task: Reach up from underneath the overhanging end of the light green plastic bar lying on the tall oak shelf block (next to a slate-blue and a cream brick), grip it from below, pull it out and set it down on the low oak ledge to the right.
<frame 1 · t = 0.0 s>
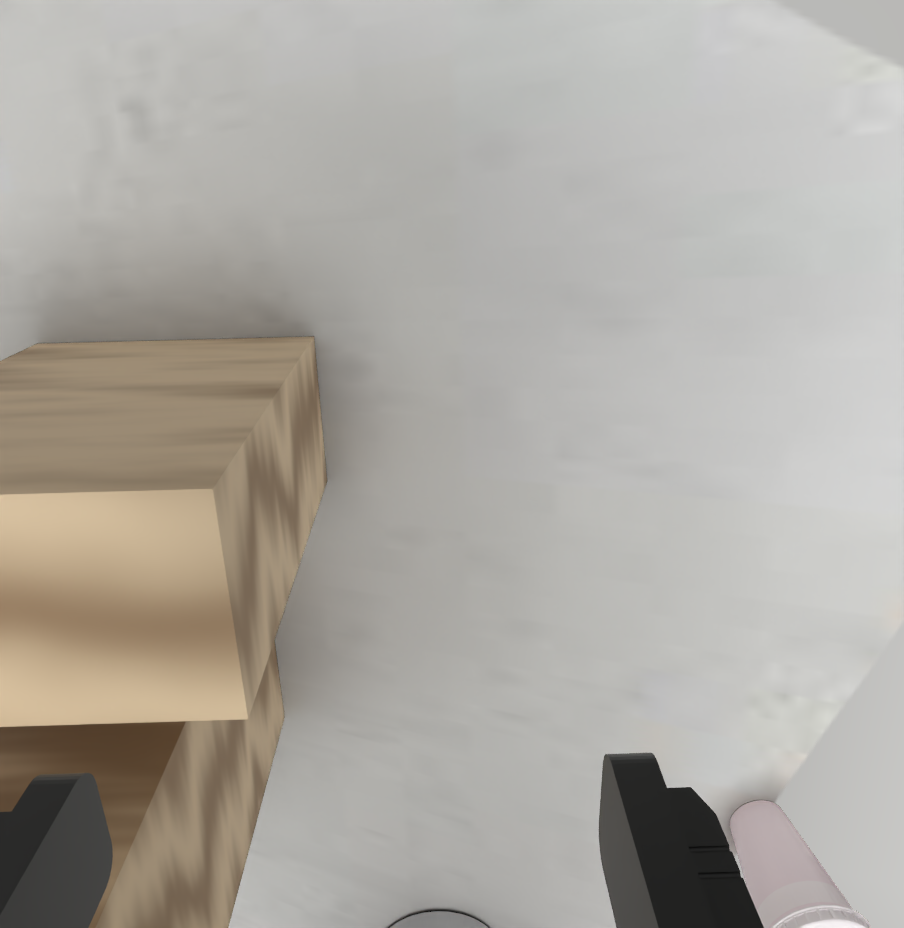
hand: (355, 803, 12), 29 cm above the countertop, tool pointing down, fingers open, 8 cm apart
oak ledge: (187, 415, 40), on the countertop
smoothie: (755, 818, 52), on the countertop
oak shelf block: (173, 639, 45), on the countertop
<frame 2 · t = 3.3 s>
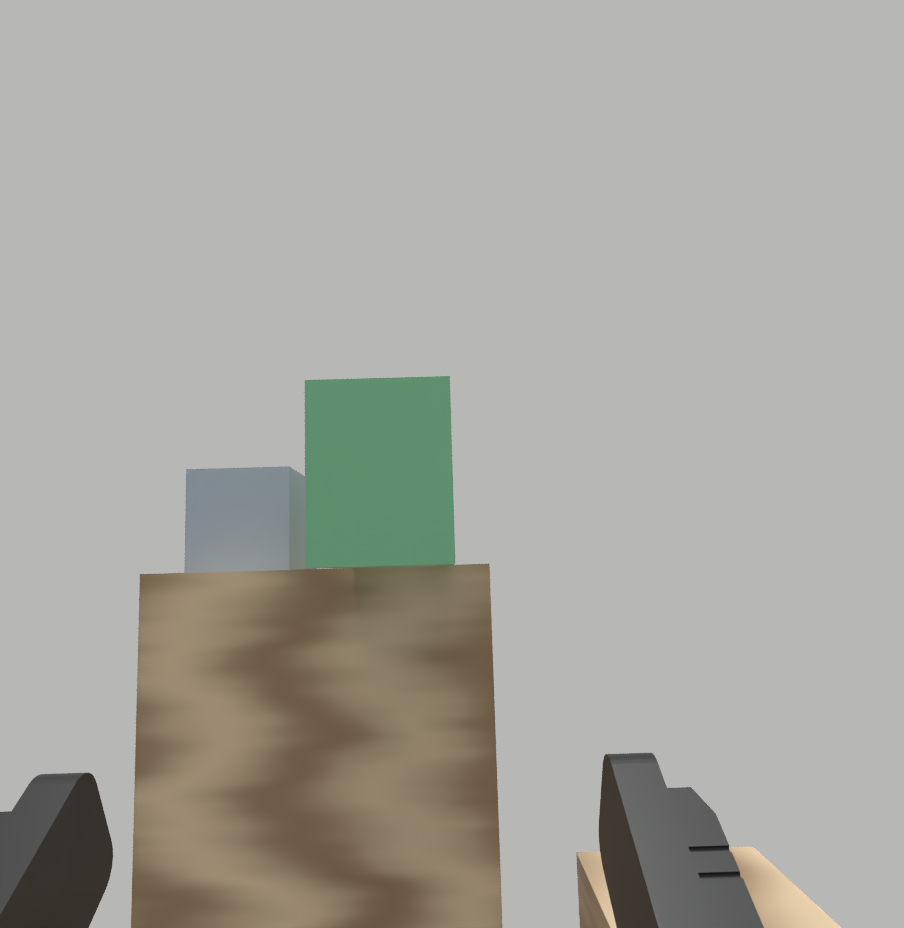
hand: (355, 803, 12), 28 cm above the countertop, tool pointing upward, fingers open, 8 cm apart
slate-blue brick: (256, 571, 32), point 32 cm above the countertop, touching oak shelf block
green bar: (404, 566, 28), point 32 cm above the countertop, touching oak shelf block
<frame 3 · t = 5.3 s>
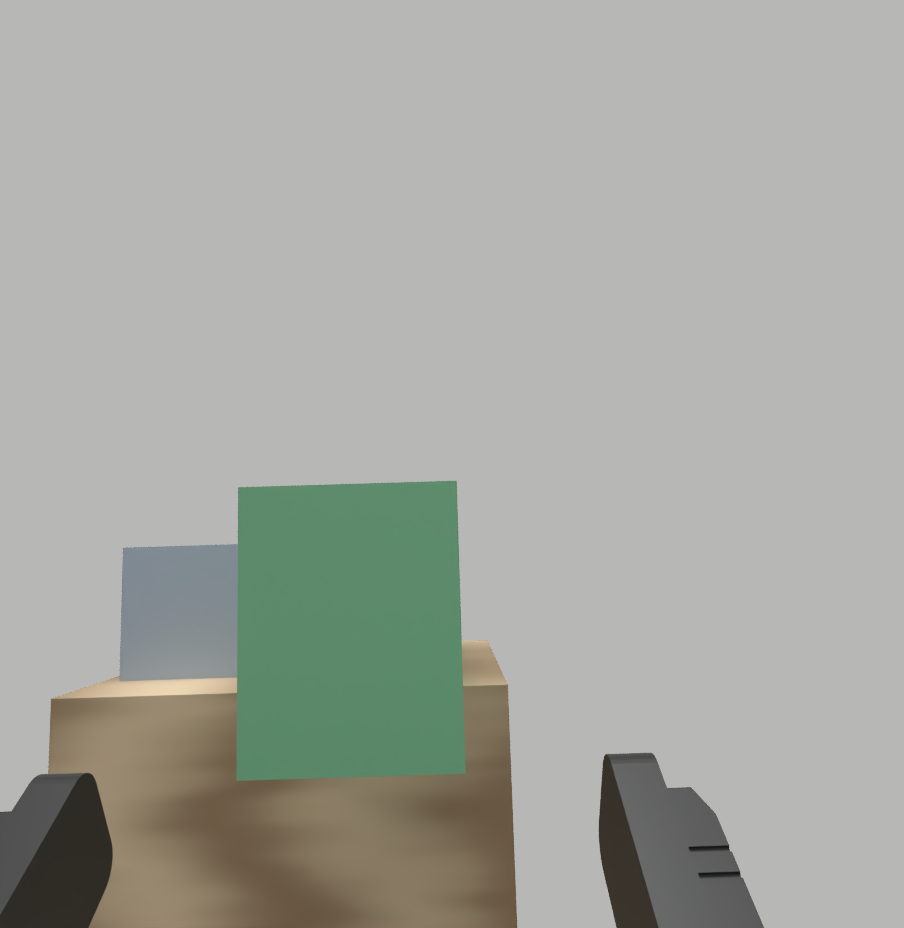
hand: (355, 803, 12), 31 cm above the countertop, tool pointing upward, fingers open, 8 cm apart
slate-blue brick: (216, 666, 26), point 32 cm above the countertop, touching oak shelf block
green bar: (397, 679, 22), point 32 cm above the countertop, touching oak shelf block
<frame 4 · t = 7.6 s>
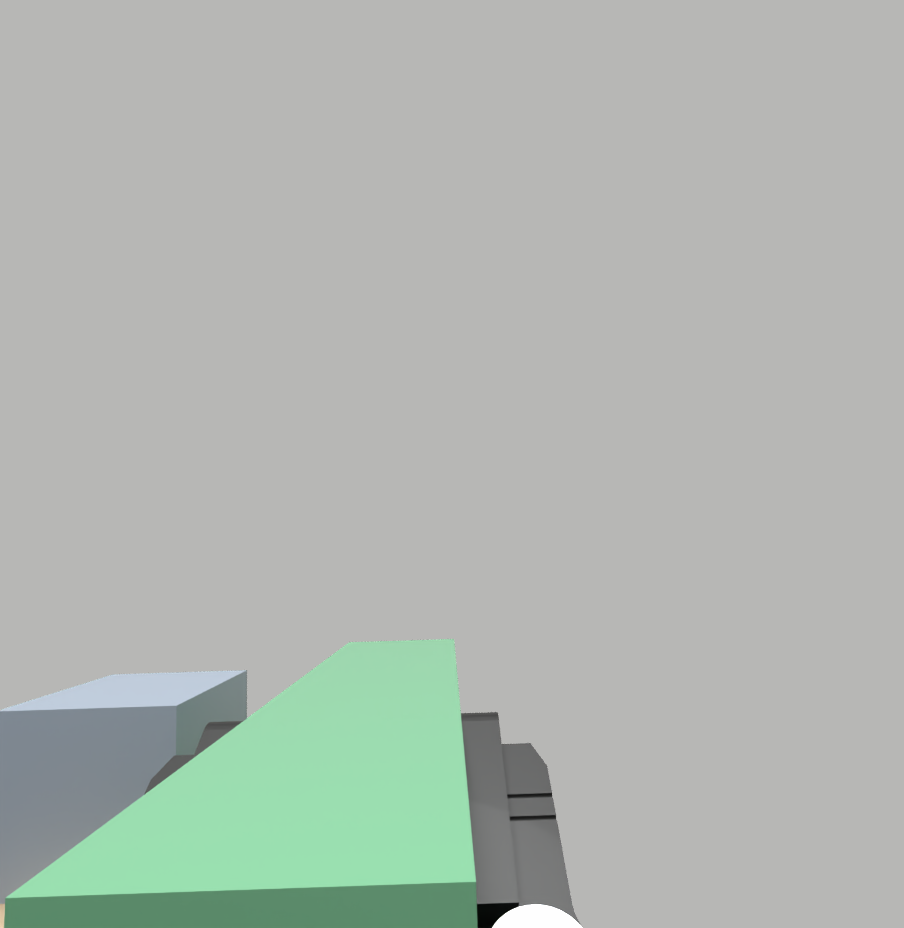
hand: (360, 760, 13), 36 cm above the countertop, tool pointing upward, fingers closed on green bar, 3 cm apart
slate-blue brick: (136, 850, 19), point 32 cm above the countertop, touching oak shelf block
green bar: (376, 922, 15), point 32 cm above the countertop, touching gripper, oak shelf block
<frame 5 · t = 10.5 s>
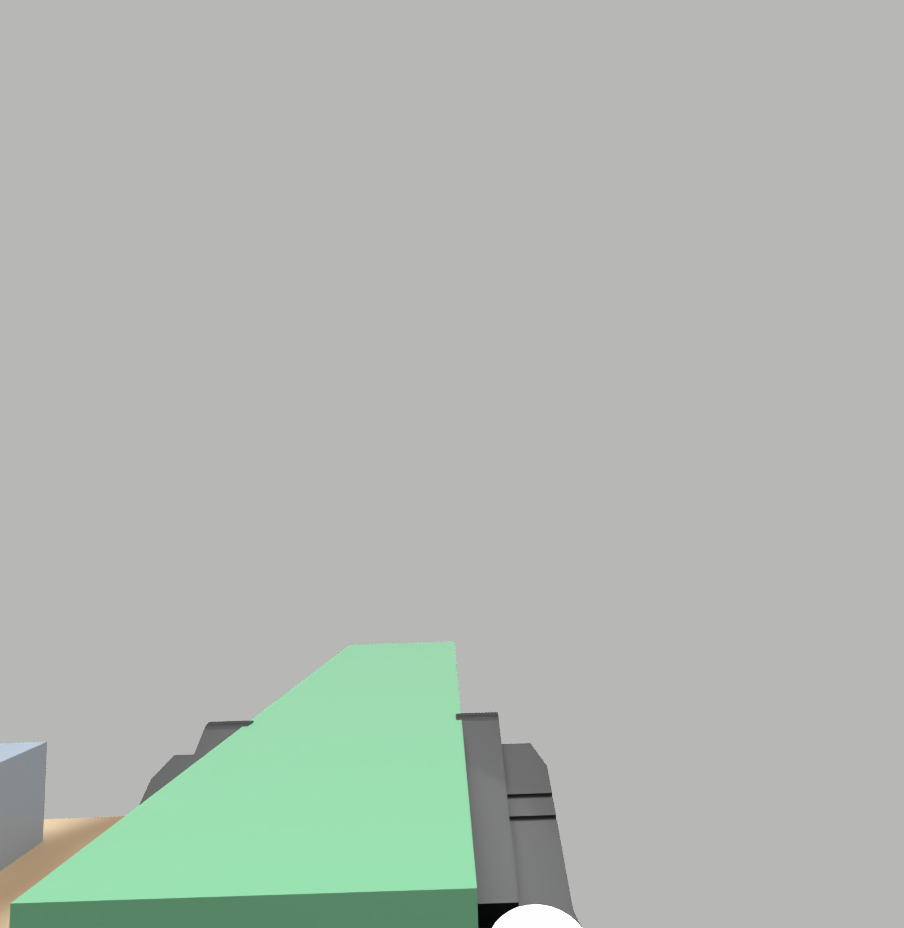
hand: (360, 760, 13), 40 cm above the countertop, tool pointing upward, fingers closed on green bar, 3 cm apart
green bar: (376, 925, 15), point 36 cm above the countertop, touching gripper
when the fingers open (25 cm above the countertop, at t = 13.6 s): green bar drops 3 cm, resting on oak ledge.
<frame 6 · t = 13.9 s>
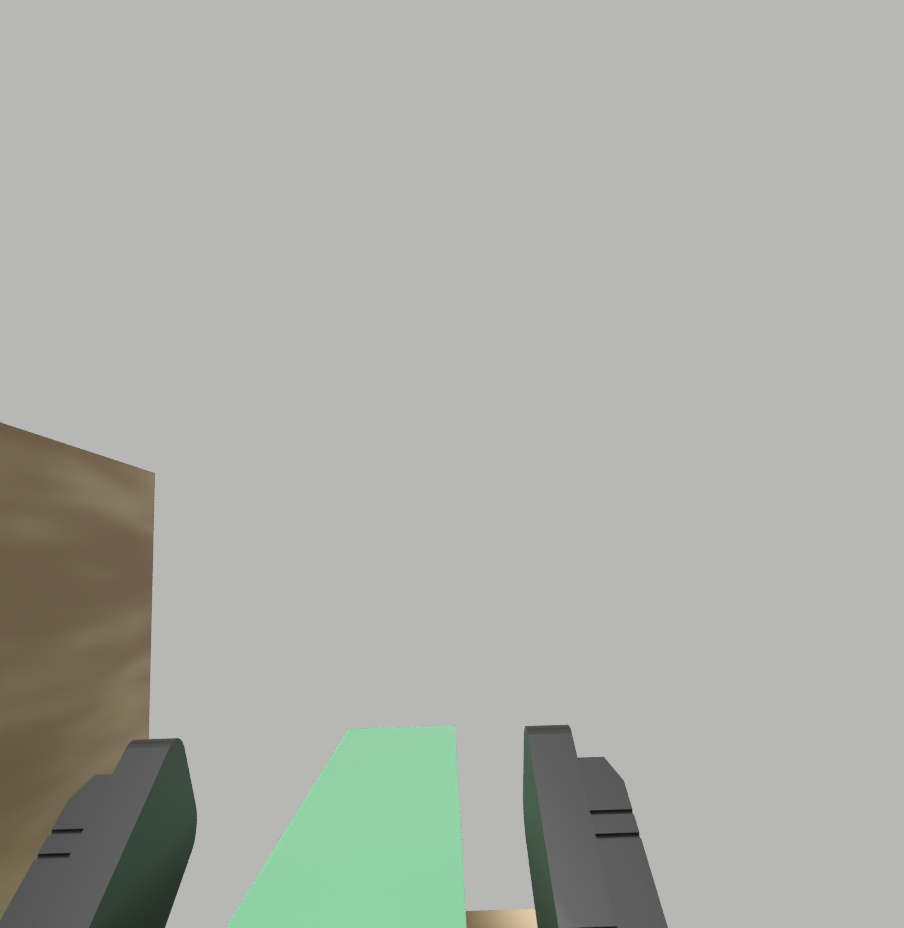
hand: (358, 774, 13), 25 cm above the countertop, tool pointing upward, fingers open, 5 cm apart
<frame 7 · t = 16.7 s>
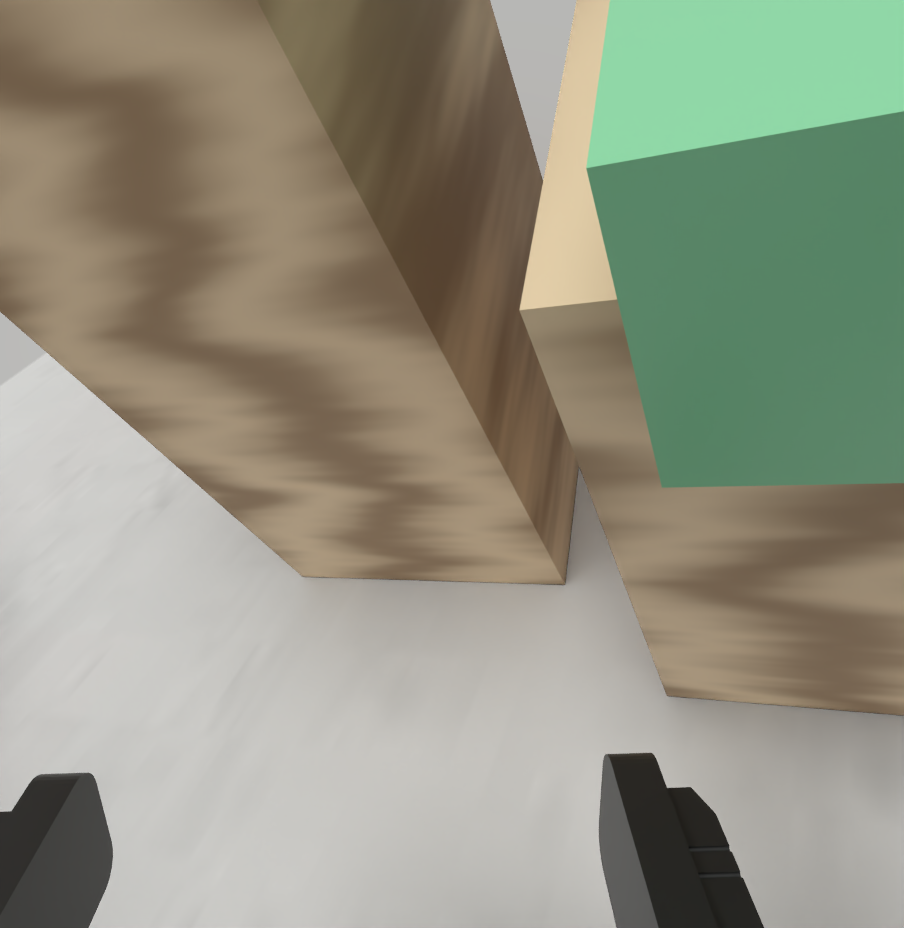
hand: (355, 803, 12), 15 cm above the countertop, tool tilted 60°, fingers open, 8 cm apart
oak ledge: (786, 516, 28), on the countertop
oak shelf block: (450, 460, 35), on the countertop
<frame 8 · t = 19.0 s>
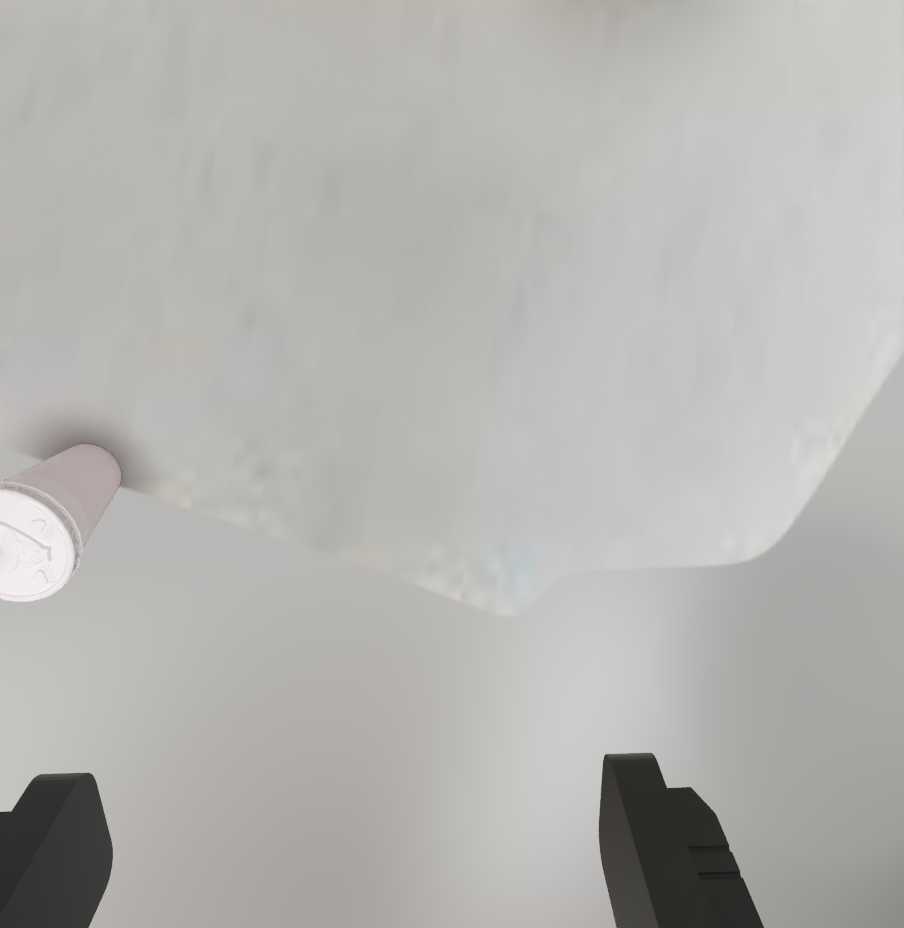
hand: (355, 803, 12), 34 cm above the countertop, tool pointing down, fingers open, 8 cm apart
smoothie: (92, 470, 47), on the countertop
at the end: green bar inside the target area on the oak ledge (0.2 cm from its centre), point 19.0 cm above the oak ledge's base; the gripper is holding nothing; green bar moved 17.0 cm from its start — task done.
